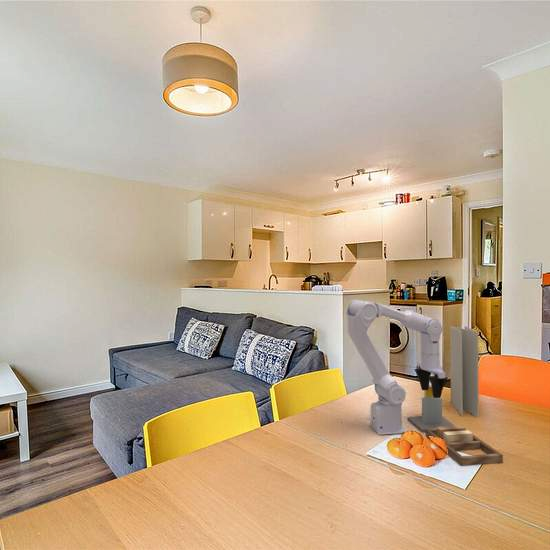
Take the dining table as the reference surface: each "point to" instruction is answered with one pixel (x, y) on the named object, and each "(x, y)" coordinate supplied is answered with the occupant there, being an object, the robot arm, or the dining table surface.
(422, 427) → the rubber mat
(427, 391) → the supplement bottle
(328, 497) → the dining table surface
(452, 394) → the brochure
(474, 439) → the walnut rack
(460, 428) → the stained offcut
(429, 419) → the grey rectangular block
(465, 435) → the birch offcut
